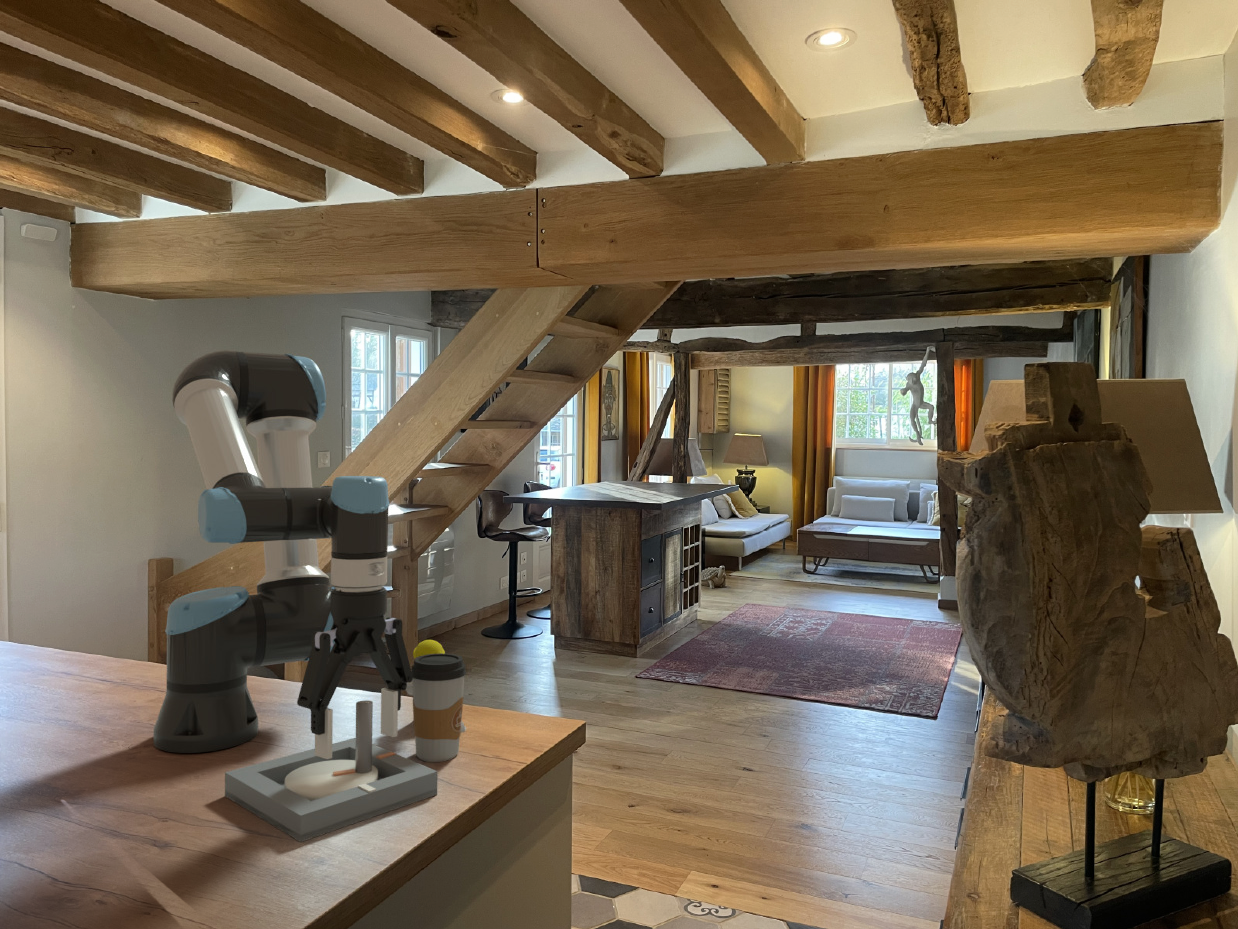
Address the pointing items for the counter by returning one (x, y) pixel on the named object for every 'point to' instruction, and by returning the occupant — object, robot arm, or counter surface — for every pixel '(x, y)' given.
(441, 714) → the coffee cup
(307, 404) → the robot arm
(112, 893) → the counter surface
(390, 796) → the dial board
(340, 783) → the dial
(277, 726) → the counter surface
